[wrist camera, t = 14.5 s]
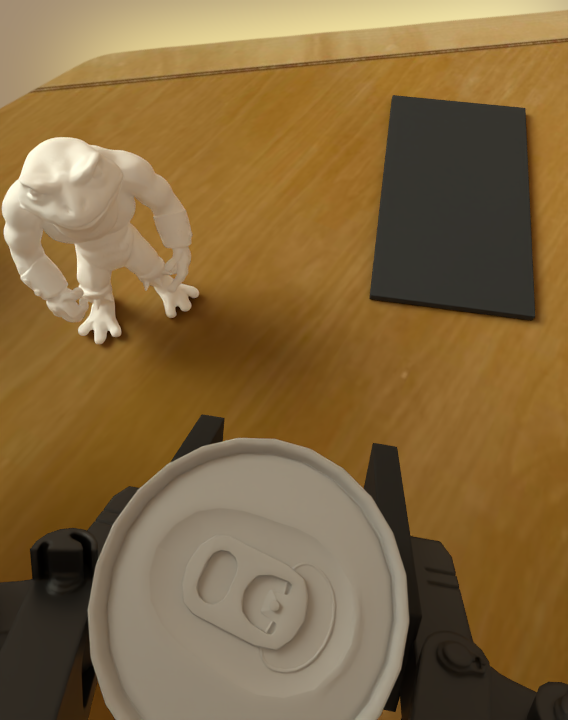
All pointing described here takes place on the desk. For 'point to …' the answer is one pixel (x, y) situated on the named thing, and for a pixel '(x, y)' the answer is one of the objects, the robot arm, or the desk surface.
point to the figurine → (94, 229)
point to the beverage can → (249, 592)
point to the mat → (455, 209)
